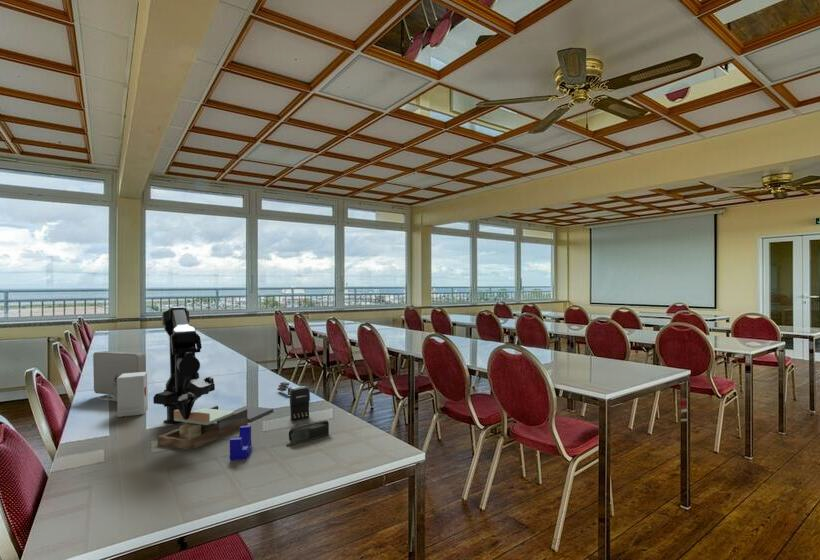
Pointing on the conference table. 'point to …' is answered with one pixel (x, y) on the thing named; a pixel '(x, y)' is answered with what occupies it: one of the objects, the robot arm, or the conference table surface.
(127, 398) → the supplement box
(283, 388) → the extruded letter logo
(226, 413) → the sliding cover
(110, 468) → the conference table surface
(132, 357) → the network device
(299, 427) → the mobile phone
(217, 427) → the wooden box
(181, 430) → the beech block
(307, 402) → the battery charger
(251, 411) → the charcoal mat
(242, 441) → the cable clip
